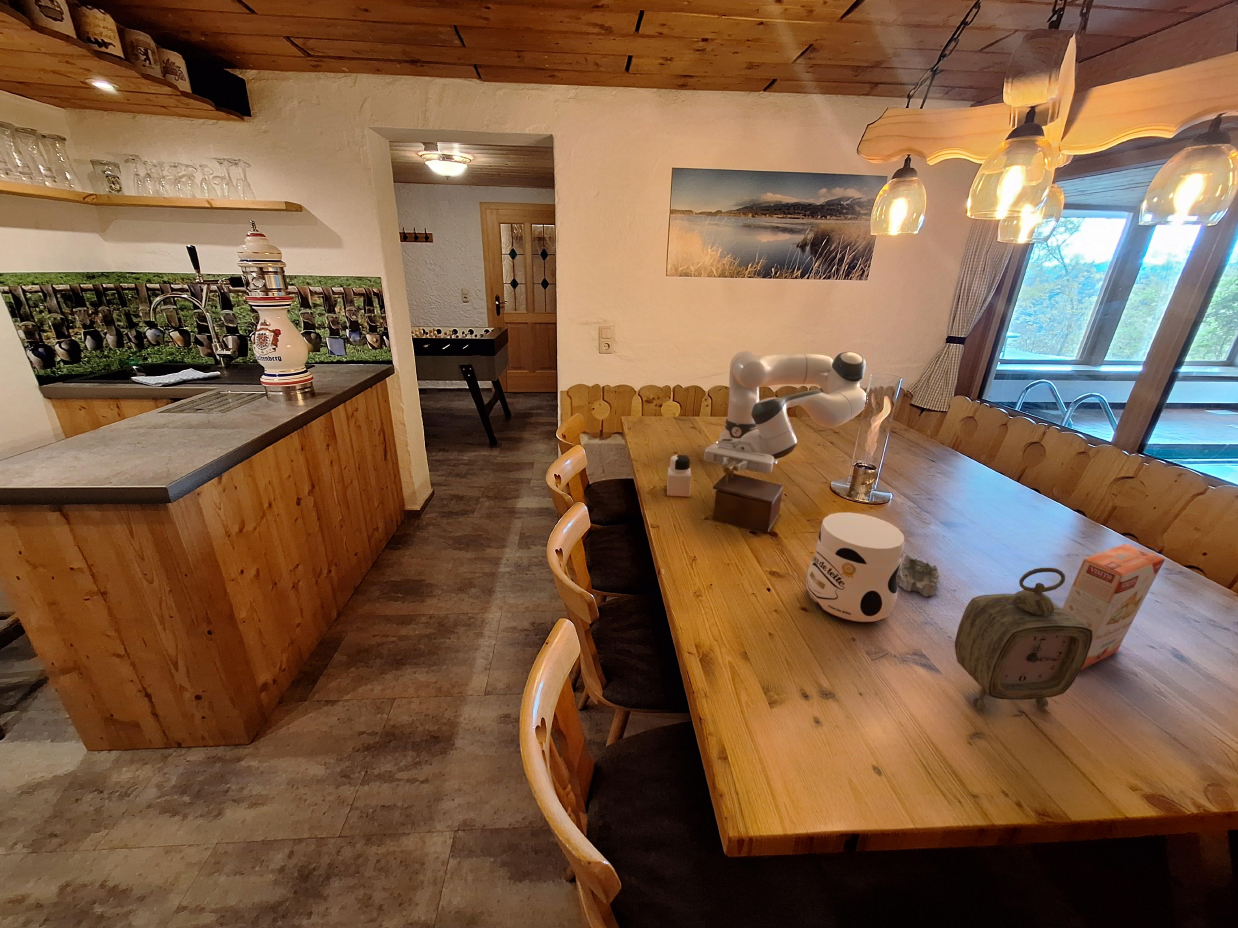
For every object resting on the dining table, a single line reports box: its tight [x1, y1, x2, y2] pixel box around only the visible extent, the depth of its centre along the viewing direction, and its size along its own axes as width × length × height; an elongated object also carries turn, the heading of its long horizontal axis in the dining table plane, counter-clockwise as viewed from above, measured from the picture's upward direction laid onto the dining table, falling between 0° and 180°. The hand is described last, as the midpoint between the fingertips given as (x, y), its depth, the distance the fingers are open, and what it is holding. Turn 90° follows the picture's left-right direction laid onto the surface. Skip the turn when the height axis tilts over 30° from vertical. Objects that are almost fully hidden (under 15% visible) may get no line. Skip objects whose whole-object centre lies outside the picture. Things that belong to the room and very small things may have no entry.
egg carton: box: [898, 554, 940, 597], centre depth 111 cm, size 11×8×4 cm
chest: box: [712, 487, 784, 534], centre depth 139 cm, size 16×13×9 cm
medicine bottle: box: [666, 454, 692, 498], centre depth 155 cm, size 7×7×12 cm
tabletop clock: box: [954, 567, 1092, 710], centre depth 78 cm, size 14×9×25 cm, turn 93°
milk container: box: [805, 512, 905, 624], centre depth 101 cm, size 17×17×18 cm
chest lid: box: [712, 461, 784, 504], centre depth 137 cm, size 16×13×6 cm
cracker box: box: [1061, 543, 1166, 671], centre depth 88 cm, size 14×6×21 cm, turn 114°
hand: (730, 467), depth 139 cm, fingers closed on chest lid, 2 cm apart
